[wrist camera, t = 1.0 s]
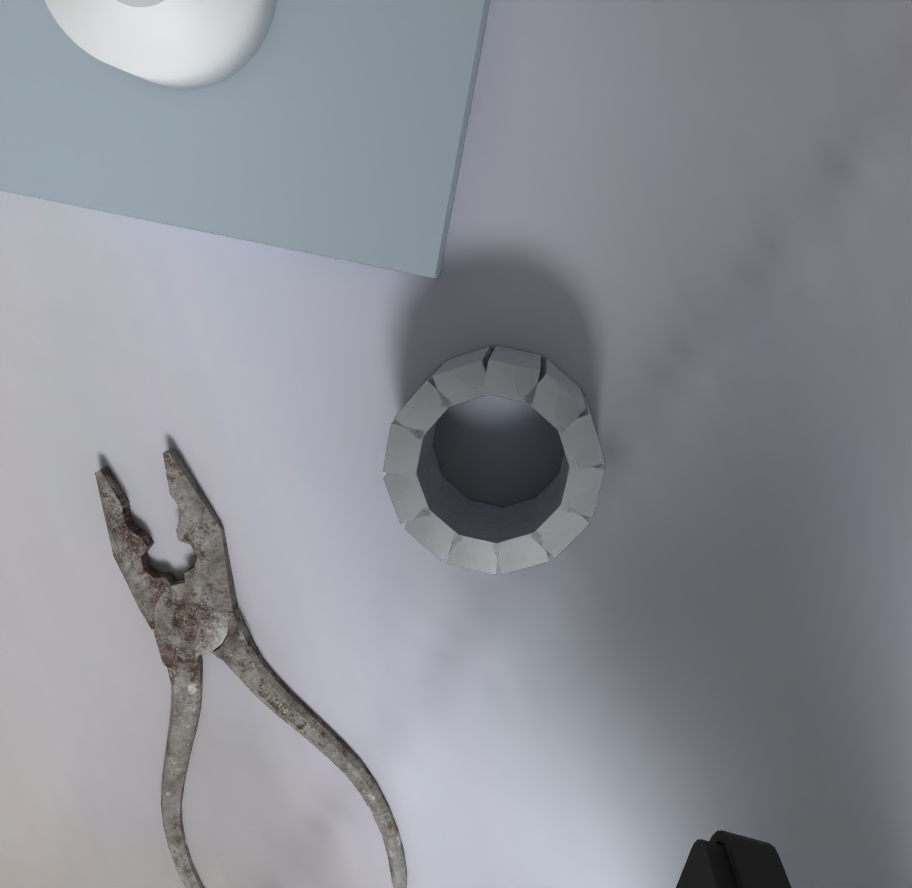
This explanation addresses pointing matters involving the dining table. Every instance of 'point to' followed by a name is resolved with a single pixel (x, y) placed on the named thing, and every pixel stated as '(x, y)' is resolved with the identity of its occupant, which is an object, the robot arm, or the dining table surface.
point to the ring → (479, 524)
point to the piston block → (247, 117)
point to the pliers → (203, 630)
